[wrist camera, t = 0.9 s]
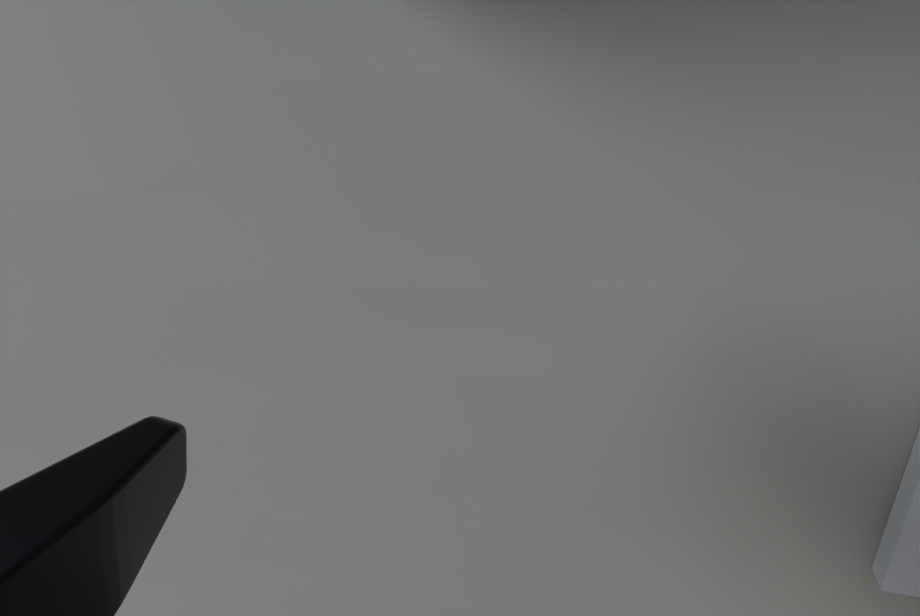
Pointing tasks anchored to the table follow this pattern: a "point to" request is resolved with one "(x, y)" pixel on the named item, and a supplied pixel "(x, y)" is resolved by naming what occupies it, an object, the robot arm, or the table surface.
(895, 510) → the grey plate
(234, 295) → the table surface
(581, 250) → the table surface
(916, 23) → the table surface
